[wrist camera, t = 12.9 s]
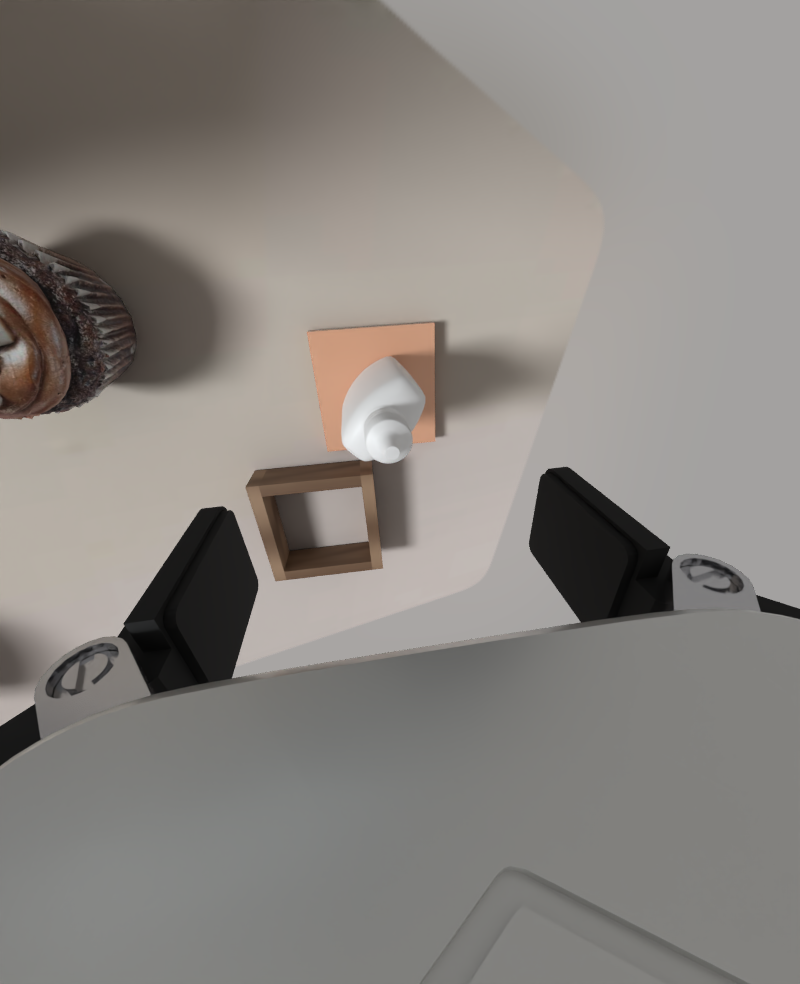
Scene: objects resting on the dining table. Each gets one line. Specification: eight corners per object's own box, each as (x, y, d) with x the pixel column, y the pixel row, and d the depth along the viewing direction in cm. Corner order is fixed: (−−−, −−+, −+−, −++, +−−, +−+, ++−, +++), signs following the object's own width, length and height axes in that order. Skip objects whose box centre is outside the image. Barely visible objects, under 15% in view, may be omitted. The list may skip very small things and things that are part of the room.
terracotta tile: (308, 330, 25) (306, 332, 24) (431, 321, 25) (434, 322, 25) (328, 447, 29) (327, 451, 28) (432, 437, 30) (435, 441, 29)
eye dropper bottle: (416, 406, 27) (459, 473, 17) (350, 428, 28) (352, 508, 17) (401, 350, 25) (439, 388, 15) (329, 374, 25) (316, 430, 15)
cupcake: (147, 413, 26) (45, 470, 18) (-12, 366, 24) (-222, 405, 15) (156, 276, 22) (30, 264, 14) (-34, 201, 20) (-339, 126, 11)
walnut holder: (255, 470, 30) (245, 487, 27) (371, 459, 30) (372, 474, 28) (281, 559, 35) (275, 581, 32) (380, 548, 35) (382, 568, 33)
